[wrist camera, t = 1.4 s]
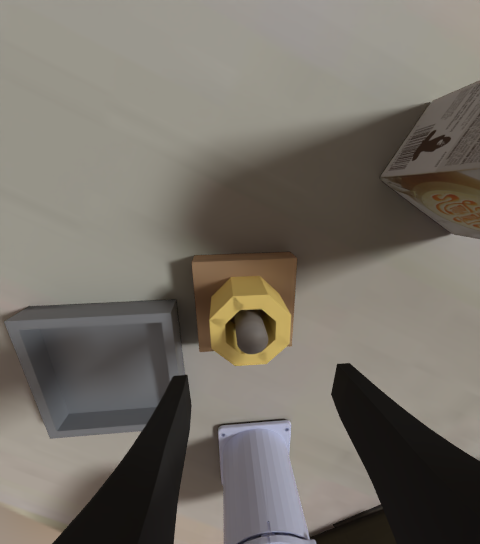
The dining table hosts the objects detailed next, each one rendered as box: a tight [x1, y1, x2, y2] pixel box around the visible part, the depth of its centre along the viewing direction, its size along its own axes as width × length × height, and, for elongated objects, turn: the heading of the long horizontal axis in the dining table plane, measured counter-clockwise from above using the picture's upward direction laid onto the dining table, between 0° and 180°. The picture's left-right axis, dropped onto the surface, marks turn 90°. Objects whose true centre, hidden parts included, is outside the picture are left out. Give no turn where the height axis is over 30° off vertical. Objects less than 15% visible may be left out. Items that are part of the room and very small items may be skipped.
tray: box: [4, 299, 185, 439], centre depth 21 cm, size 12×12×2 cm
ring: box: [209, 276, 291, 366], centre depth 18 cm, size 5×5×4 cm
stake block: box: [192, 252, 297, 354], centre depth 18 cm, size 8×8×6 cm
